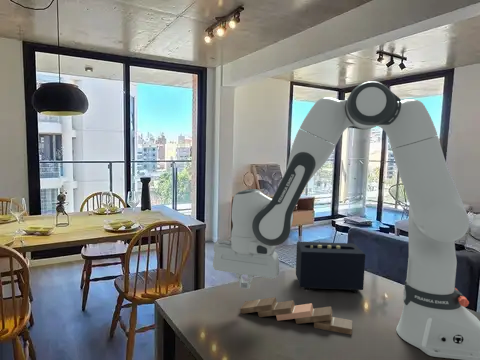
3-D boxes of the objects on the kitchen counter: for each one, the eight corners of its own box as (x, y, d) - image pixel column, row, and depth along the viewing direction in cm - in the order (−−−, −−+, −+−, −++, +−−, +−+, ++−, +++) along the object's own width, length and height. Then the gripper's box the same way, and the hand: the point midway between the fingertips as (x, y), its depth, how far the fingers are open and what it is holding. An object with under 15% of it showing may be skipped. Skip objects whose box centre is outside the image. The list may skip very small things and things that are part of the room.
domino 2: (263, 309, 106) (294, 305, 102) (259, 317, 101) (291, 313, 98) (262, 304, 106) (293, 300, 102) (257, 311, 101) (290, 307, 98)
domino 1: (246, 306, 107) (276, 302, 104) (241, 313, 103) (273, 309, 99) (245, 301, 107) (275, 297, 104) (240, 308, 103) (271, 304, 99)
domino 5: (316, 319, 101) (351, 325, 97) (313, 327, 96) (351, 334, 93) (316, 314, 100) (352, 320, 97) (314, 322, 96) (351, 329, 93)
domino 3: (280, 312, 104) (313, 308, 101) (277, 320, 99) (311, 316, 96) (279, 307, 104) (311, 303, 101) (275, 315, 99) (309, 310, 96)
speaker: (352, 279, 131) (354, 241, 129) (363, 294, 118) (365, 252, 116) (295, 277, 132) (296, 239, 130) (299, 292, 119) (301, 249, 117)
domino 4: (298, 315, 102) (332, 311, 99) (296, 323, 98) (331, 320, 95) (297, 310, 102) (331, 306, 99) (295, 318, 97) (330, 314, 95)
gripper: (209, 241, 103) (209, 286, 105) (276, 250, 97) (274, 297, 98) (218, 236, 109) (217, 278, 111) (281, 244, 103) (279, 288, 104)
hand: (244, 287), depth 104 cm, fingers closed
